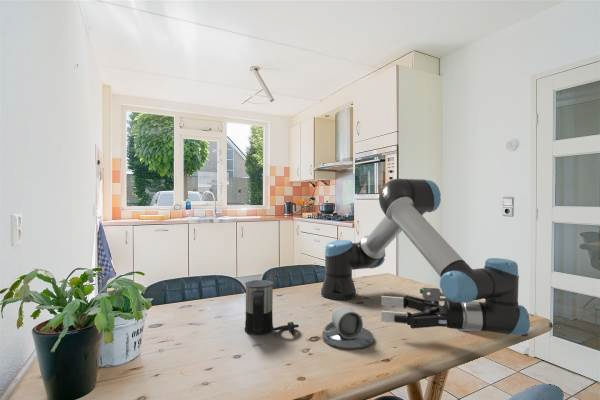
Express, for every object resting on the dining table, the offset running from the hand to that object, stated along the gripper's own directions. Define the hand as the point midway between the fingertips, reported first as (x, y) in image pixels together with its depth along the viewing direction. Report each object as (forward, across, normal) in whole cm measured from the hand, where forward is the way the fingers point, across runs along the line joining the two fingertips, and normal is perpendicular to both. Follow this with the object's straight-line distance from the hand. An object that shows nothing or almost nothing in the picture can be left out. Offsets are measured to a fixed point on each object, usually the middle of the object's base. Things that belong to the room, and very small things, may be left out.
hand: (381, 307), depth 93 cm
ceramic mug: (+11, -1, -9) cm, 14 cm away
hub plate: (+10, 0, -10) cm, 14 cm away
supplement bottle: (-26, +17, -10) cm, 32 cm away
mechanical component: (-19, +26, -10) cm, 33 cm away
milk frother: (+34, 0, -10) cm, 35 cm away
